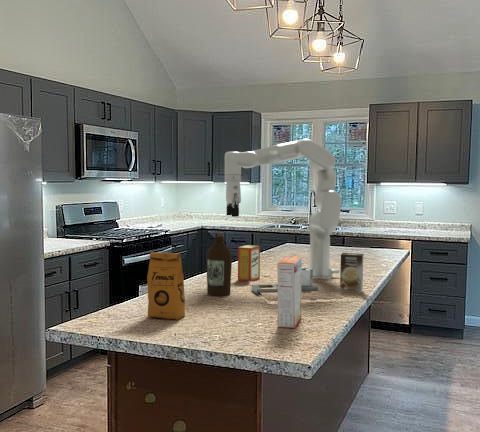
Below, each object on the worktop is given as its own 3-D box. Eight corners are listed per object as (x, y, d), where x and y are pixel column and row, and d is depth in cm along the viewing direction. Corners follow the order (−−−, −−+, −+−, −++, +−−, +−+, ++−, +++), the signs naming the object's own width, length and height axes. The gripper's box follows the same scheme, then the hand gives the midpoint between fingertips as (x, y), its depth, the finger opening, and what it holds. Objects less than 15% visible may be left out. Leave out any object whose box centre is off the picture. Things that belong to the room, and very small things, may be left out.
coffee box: (339, 292, 223) (339, 254, 222) (341, 289, 229) (342, 252, 228) (361, 293, 220) (362, 255, 219) (363, 290, 226) (363, 253, 225)
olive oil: (211, 290, 224) (211, 231, 223) (235, 292, 221) (235, 232, 219) (202, 295, 214) (202, 233, 212) (226, 297, 211) (227, 234, 209)
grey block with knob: (306, 287, 227) (306, 267, 226) (309, 289, 222) (310, 269, 222) (296, 287, 226) (296, 268, 225) (299, 289, 222) (299, 269, 221)
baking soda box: (250, 281, 245) (250, 247, 244) (237, 280, 248) (238, 246, 247) (259, 278, 253) (259, 245, 252) (247, 277, 256) (247, 244, 255)
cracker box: (284, 316, 181) (285, 255, 180) (301, 318, 179) (302, 256, 178) (275, 327, 168) (276, 261, 166) (294, 329, 166) (295, 262, 165)
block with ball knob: (306, 285, 237) (307, 267, 236) (312, 287, 233) (312, 268, 232) (298, 286, 235) (298, 267, 234) (303, 288, 231) (304, 269, 230)
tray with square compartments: (310, 288, 230) (310, 282, 230) (318, 293, 220) (318, 287, 220) (251, 290, 225) (251, 284, 225) (257, 295, 215) (257, 289, 215)
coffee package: (177, 322, 173) (177, 255, 172) (143, 319, 177) (143, 253, 175) (189, 315, 183) (189, 251, 181) (156, 312, 186) (156, 249, 185)
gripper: (245, 178, 237) (245, 217, 238) (235, 178, 253) (235, 214, 254) (229, 178, 235) (229, 217, 236) (220, 178, 251) (220, 214, 252)
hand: (232, 215), depth 245 cm, fingers open, 9 cm apart
